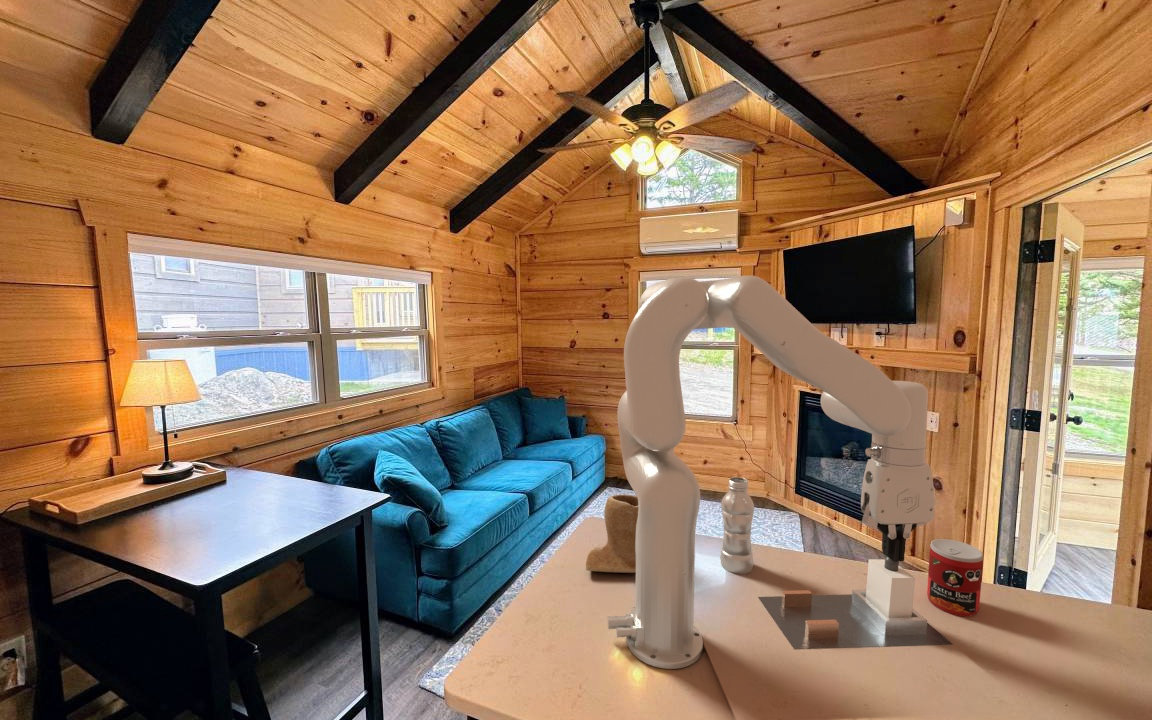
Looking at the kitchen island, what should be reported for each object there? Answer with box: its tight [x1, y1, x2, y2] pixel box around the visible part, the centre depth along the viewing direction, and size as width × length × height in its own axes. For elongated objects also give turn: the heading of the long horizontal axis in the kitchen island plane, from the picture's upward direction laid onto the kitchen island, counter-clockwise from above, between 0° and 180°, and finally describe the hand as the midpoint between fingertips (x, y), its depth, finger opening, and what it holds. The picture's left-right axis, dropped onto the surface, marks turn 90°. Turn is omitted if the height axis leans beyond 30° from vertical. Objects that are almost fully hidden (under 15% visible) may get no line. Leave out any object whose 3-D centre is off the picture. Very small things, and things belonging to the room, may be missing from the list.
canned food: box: [926, 538, 984, 617], centre depth 88 cm, size 8×8×11 cm
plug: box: [865, 555, 916, 618], centre depth 82 cm, size 4×6×11 cm, turn 2°
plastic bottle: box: [719, 476, 755, 575], centre depth 99 cm, size 6×7×20 cm
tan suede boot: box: [585, 494, 638, 574], centre depth 103 cm, size 15×12×15 cm
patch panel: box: [757, 588, 954, 650], centre depth 83 cm, size 26×14×4 cm, turn 92°
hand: (893, 557), depth 82 cm, fingers closed
